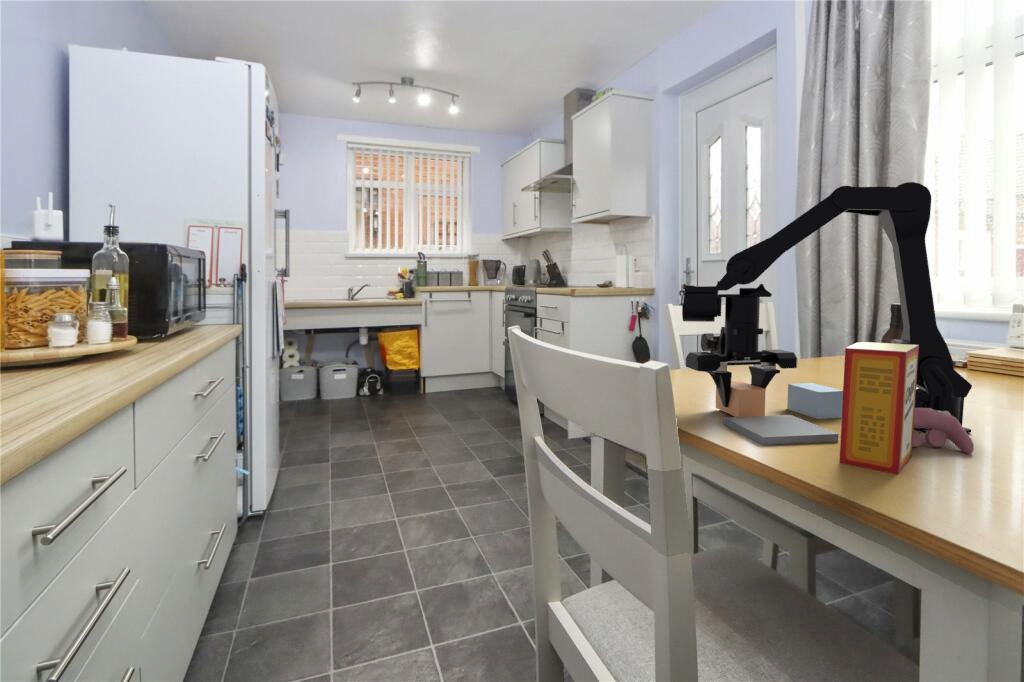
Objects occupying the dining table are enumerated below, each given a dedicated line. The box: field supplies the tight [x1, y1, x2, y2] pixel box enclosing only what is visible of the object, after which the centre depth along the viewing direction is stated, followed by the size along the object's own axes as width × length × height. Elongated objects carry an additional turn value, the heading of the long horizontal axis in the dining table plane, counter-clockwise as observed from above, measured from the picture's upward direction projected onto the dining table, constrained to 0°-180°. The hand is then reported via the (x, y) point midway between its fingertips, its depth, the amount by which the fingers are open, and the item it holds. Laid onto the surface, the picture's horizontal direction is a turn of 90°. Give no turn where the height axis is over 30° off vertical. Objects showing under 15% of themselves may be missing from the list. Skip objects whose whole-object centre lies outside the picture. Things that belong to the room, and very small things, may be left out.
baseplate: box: [723, 414, 839, 446], centre depth 86 cm, size 12×12×1 cm
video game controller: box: [912, 408, 975, 455], centre depth 77 cm, size 10×5×7 cm, turn 84°
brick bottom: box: [715, 380, 767, 417], centre depth 98 cm, size 5×8×5 cm, turn 7°
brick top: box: [786, 382, 843, 420], centre depth 98 cm, size 5×8×5 cm, turn 10°
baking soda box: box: [839, 341, 919, 475], centre depth 72 cm, size 10×6×16 cm
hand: (739, 406), depth 98 cm, fingers closed on brick bottom, 5 cm apart
